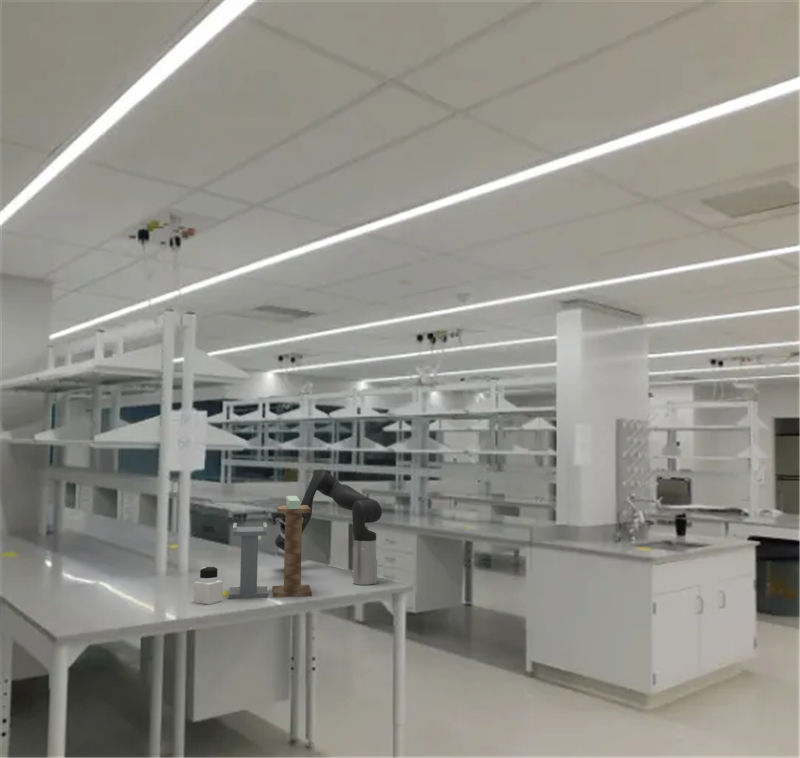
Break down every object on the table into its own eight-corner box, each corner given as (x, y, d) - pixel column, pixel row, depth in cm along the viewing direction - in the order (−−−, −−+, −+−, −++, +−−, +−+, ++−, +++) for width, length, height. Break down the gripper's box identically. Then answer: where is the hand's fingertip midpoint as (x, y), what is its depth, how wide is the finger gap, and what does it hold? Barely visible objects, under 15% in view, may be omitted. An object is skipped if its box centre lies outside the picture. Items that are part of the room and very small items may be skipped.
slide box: (296, 503, 299) (296, 495, 299) (299, 508, 274) (299, 500, 274) (286, 503, 298) (286, 495, 299) (288, 509, 273) (289, 500, 273)
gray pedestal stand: (267, 589, 284) (268, 522, 287) (267, 598, 269) (269, 527, 271) (229, 590, 282) (231, 523, 284) (228, 599, 266) (230, 527, 268)
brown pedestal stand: (308, 588, 287) (310, 505, 290) (311, 596, 272) (313, 508, 275) (272, 589, 285) (274, 505, 288) (273, 597, 269) (275, 509, 272)
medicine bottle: (222, 601, 263) (223, 566, 264) (207, 604, 257) (208, 569, 258) (207, 598, 267) (208, 565, 268) (193, 602, 260) (194, 567, 262)
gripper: (271, 519, 314) (273, 502, 301) (305, 519, 317) (308, 502, 304) (271, 536, 310) (272, 519, 297) (305, 535, 313) (308, 519, 300)
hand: (290, 511), depth 301 cm, fingers open, 8 cm apart
